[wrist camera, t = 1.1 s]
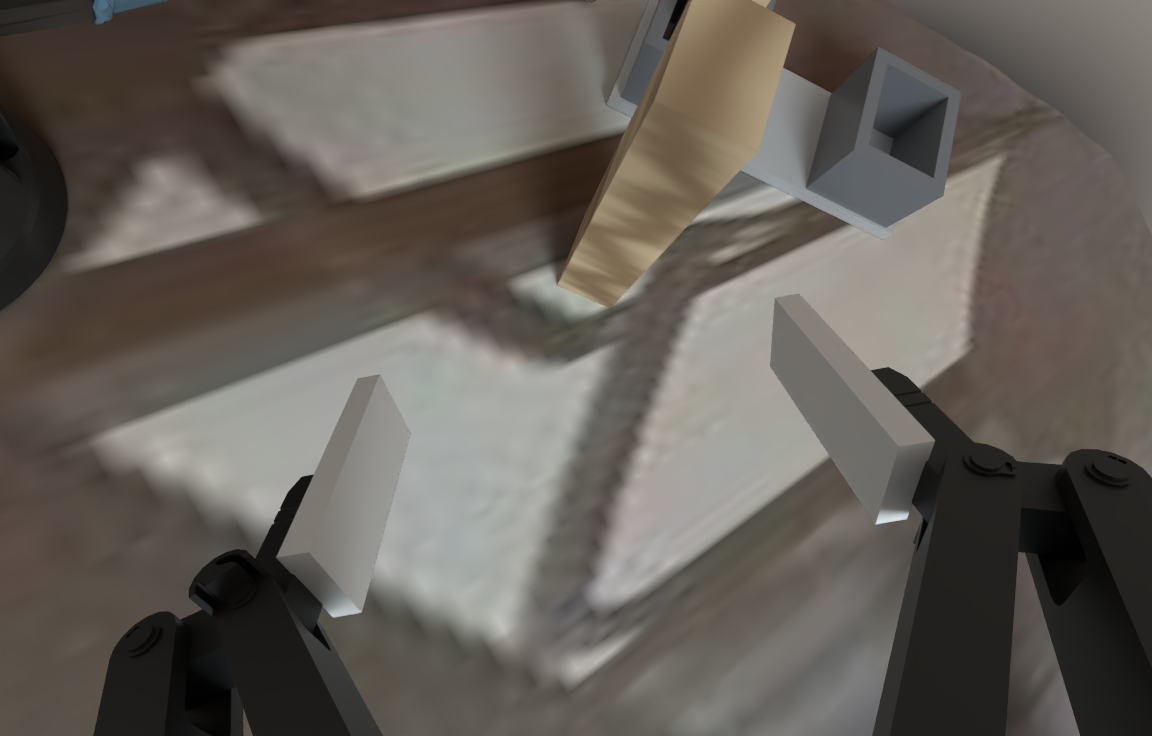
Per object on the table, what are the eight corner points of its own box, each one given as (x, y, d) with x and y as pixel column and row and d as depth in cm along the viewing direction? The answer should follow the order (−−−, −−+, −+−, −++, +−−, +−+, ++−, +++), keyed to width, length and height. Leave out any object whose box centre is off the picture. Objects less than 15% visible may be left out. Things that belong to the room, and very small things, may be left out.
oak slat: (557, 285, 34) (654, 99, 17) (585, 212, 35) (702, -27, 18) (610, 308, 34) (757, 151, 17) (636, 235, 36) (795, 24, 19)
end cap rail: (606, 105, 38) (741, -235, 19) (645, 8, 40) (797, -372, 22) (882, 239, 41) (1219, 59, 23) (902, 143, 43) (1219, -89, 25)
